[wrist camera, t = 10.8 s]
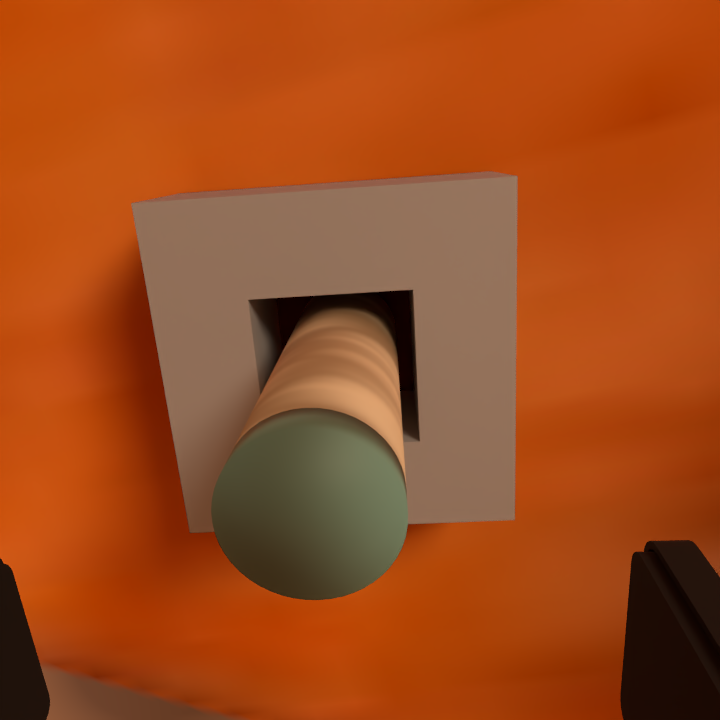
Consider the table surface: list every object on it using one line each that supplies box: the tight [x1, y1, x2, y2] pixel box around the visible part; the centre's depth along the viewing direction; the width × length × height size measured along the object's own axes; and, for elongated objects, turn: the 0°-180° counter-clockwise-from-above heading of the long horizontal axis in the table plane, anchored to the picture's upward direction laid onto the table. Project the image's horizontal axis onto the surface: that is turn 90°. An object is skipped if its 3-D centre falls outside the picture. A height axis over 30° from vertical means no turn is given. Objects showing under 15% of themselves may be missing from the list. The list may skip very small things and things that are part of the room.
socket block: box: [131, 171, 517, 533], centre depth 24 cm, size 12×12×5 cm
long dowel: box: [211, 292, 408, 600], centre depth 19 cm, size 4×4×14 cm
